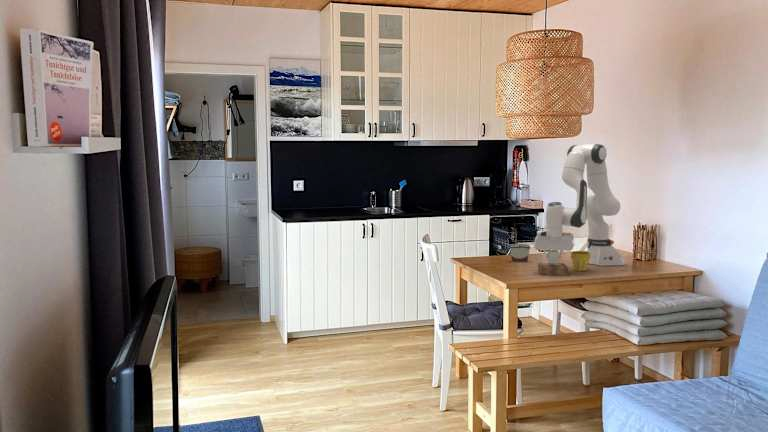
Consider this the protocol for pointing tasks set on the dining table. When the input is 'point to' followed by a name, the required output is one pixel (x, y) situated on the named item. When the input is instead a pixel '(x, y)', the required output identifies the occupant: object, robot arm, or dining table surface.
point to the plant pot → (580, 260)
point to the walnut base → (553, 269)
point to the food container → (519, 252)
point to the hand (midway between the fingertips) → (553, 257)
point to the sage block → (553, 256)
